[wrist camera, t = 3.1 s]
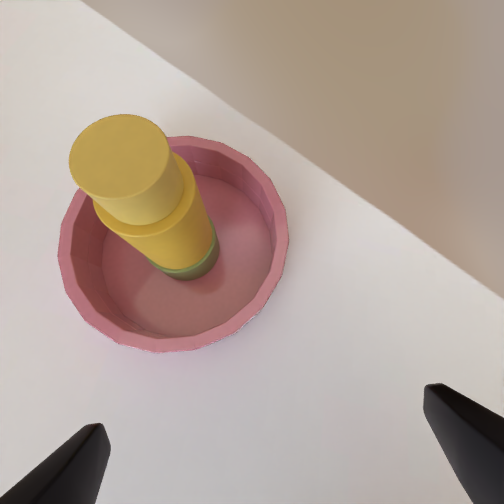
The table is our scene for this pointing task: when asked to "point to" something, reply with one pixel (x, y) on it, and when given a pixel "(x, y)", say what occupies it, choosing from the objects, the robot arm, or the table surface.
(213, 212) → the bowl
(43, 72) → the table surface
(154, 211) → the yellow stepped cylinder
